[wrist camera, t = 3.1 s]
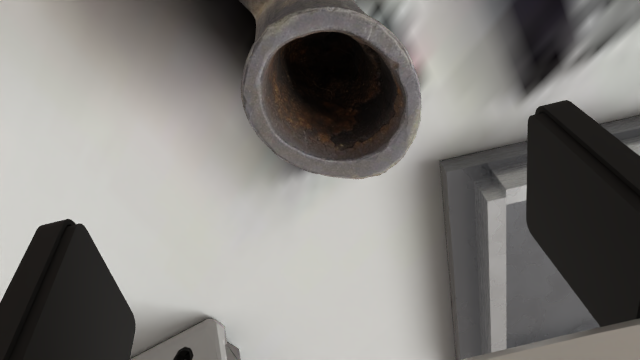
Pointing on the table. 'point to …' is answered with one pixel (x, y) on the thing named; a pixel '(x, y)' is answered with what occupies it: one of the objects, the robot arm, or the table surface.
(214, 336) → the electrical switch
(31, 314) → the robot arm
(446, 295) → the table surface
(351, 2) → the pipe
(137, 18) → the table surface
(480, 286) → the cradle
